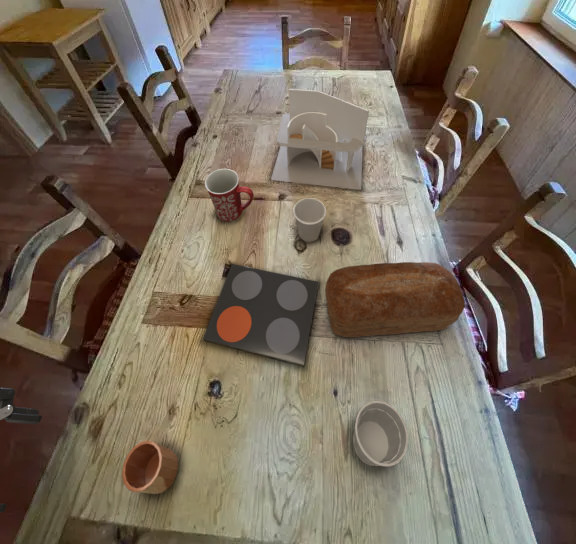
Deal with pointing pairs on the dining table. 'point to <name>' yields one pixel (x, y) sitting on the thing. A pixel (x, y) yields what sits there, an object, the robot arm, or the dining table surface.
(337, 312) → the bread
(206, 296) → the dining table surface
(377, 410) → the cup
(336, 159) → the architectural model
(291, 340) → the stove
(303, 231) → the dixie cup
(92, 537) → the dining table surface
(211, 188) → the mug
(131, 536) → the dining table surface
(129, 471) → the cup
